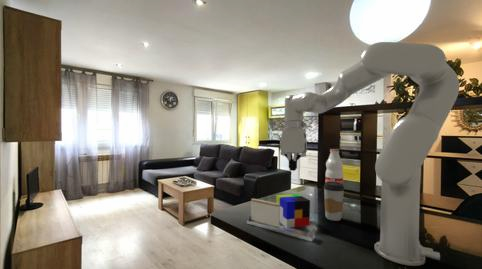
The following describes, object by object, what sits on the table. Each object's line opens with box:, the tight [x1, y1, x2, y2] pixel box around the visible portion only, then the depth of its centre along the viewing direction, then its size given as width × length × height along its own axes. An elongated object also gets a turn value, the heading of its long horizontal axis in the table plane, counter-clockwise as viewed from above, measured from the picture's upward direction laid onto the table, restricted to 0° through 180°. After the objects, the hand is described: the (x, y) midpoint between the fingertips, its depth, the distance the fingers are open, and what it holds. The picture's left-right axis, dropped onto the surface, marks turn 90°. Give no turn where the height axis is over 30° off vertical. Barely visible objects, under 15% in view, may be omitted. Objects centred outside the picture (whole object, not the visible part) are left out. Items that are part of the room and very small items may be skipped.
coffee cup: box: [323, 181, 345, 222], centre depth 98 cm, size 8×8×15 cm
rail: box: [246, 213, 316, 243], centre depth 85 cm, size 26×4×3 cm, turn 56°
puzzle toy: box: [275, 193, 311, 228], centre depth 94 cm, size 10×10×10 cm
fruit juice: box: [324, 148, 344, 185], centre depth 130 cm, size 9×9×28 cm
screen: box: [250, 198, 281, 227], centre depth 88 cm, size 12×1×8 cm, turn 56°
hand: (292, 170), depth 93 cm, fingers closed
